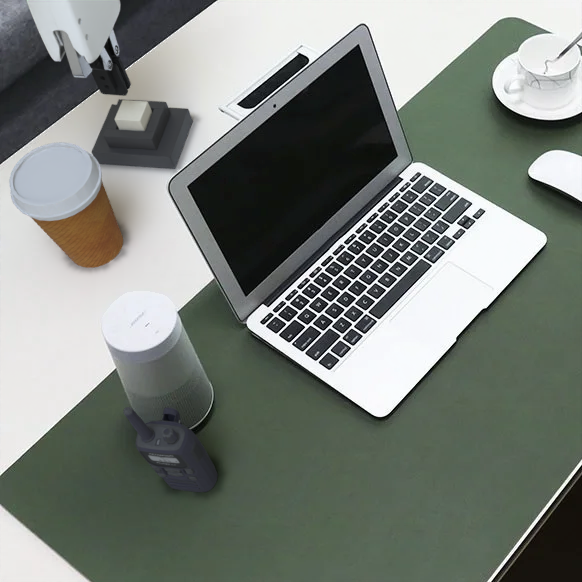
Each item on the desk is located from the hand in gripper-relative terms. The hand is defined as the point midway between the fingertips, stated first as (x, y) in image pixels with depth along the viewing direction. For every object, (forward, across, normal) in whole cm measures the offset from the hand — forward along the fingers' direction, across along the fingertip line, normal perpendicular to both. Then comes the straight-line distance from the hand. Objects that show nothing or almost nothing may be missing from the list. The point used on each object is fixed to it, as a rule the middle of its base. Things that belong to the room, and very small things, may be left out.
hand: (116, 89), depth 95 cm
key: (+5, 0, 0) cm, 5 cm away
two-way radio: (+9, +42, +18) cm, 46 cm away
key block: (+9, 0, 0) cm, 9 cm away
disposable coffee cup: (+9, +16, -1) cm, 18 cm away
